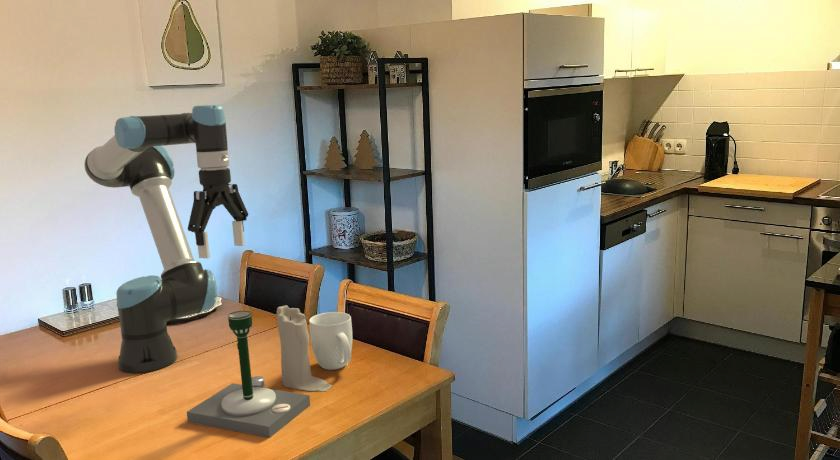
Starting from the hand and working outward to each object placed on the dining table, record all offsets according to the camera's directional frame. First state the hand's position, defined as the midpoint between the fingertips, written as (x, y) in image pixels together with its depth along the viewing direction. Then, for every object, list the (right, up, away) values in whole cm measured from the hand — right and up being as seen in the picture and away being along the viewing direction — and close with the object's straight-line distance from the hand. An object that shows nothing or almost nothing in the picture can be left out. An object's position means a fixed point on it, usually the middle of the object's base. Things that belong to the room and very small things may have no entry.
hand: (222, 251), depth 174 cm
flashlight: (+11, -33, -18) cm, 39 cm away
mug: (+28, -31, +7) cm, 42 cm away
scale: (+11, -36, -18) cm, 42 cm away
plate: (-33, -23, +61) cm, 73 cm away
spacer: (+10, -34, -4) cm, 35 cm away
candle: (+22, -33, -3) cm, 40 cm away
